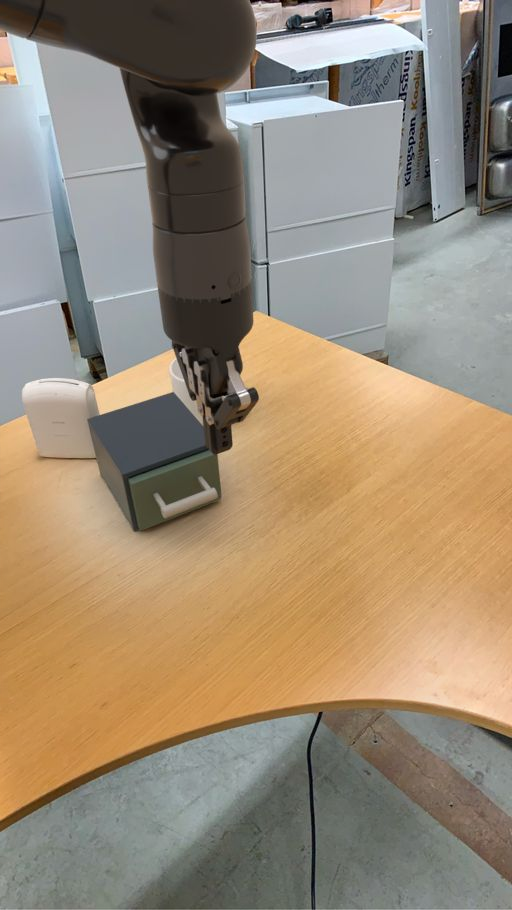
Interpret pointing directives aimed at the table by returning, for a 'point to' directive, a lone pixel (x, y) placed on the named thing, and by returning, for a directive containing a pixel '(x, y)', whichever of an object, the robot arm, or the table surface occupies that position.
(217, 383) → the robot arm
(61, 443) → the photo printer
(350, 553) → the table surface
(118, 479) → the cabinet
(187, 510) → the drawer
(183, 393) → the mug
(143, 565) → the table surface
